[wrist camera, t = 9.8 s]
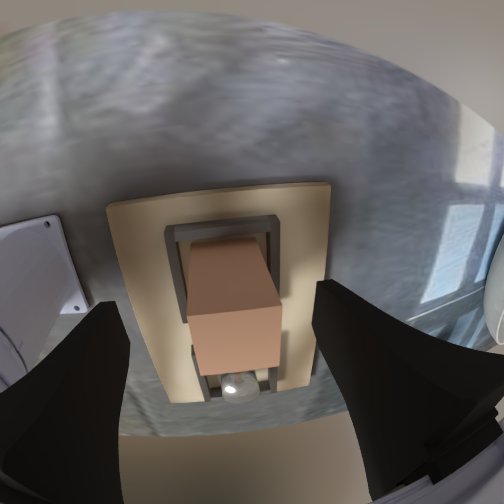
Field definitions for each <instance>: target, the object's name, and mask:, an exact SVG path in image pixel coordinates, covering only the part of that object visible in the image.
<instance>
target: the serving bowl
mask: <svg viewBox="0 0 504 504" xmlns="http://www.w3.org/2000/svg"><path fill="white" fill-rule="evenodd" d="M483 306H484V316H485V321H486V324H487V327H488V329H489V331H490V333H491V335H492V336H493V338H494V339H495V341H496V342H497V343H498V344H501V345H502V344H504V234H503V236H502V239H501V241H500V243H499V245H498V247H497V250H496V252H495V255H494V258H493V260H492V263H491V266H490V269H489V273H488V276H487V280H486V285H485V291H484V301H483Z"/></svg>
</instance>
